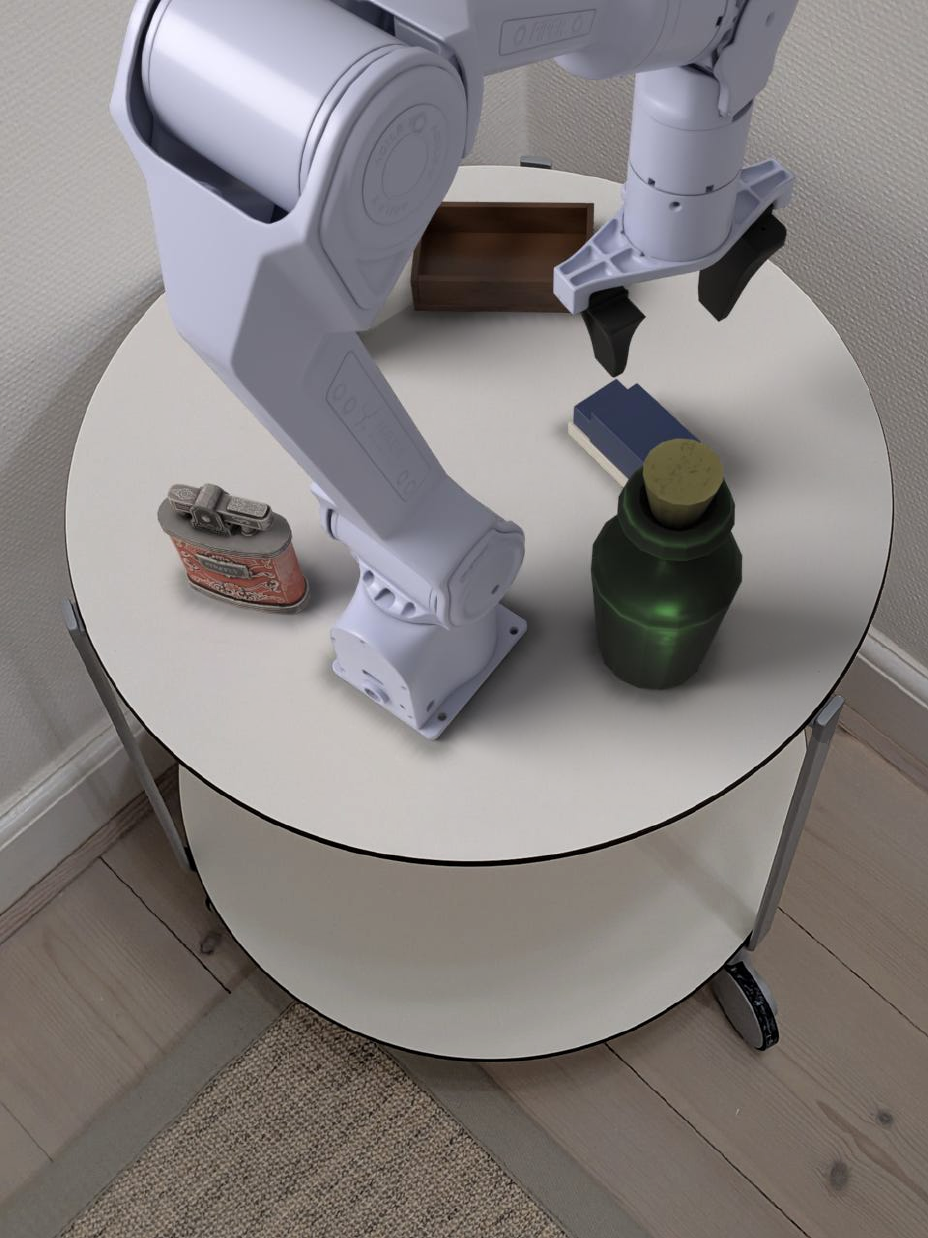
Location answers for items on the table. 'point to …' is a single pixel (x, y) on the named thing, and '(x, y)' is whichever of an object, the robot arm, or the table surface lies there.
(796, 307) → the table surface
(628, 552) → the potion bottle
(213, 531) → the lighter
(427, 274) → the tray
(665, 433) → the chalkboard eraser
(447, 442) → the table surface
